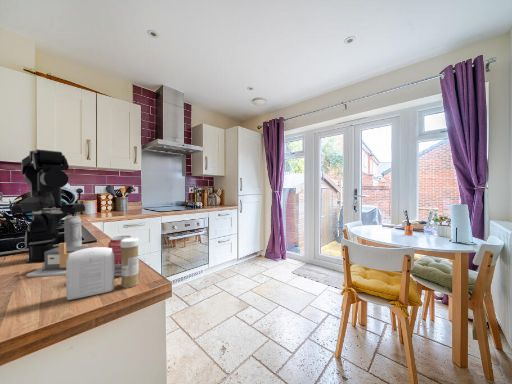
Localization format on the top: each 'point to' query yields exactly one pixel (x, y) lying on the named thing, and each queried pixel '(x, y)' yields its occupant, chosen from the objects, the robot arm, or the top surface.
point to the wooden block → (63, 255)
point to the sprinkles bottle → (129, 262)
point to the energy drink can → (73, 231)
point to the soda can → (117, 253)
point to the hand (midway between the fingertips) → (50, 233)
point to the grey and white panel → (54, 262)
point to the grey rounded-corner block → (89, 272)
